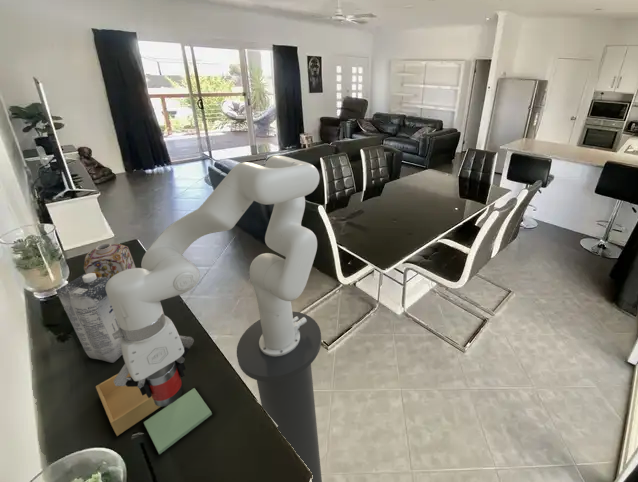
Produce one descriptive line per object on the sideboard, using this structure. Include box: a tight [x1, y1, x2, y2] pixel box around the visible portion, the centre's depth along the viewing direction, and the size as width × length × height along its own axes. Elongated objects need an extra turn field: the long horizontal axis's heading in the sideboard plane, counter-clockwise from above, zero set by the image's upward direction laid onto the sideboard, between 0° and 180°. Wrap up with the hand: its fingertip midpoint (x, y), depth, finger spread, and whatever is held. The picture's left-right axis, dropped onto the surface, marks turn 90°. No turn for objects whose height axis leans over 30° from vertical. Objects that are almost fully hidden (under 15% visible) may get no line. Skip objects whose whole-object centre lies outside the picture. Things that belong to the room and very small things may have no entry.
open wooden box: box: [95, 373, 161, 437], centre depth 84 cm, size 14×14×5 cm
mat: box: [143, 387, 213, 455], centre depth 80 cm, size 12×10×1 cm
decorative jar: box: [83, 243, 137, 278], centre depth 123 cm, size 12×12×18 cm
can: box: [145, 361, 184, 408], centre depth 74 cm, size 6×6×9 cm
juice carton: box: [55, 273, 123, 363], centre depth 93 cm, size 9×10×27 cm
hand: (164, 382), depth 74 cm, fingers closed on can, 6 cm apart
